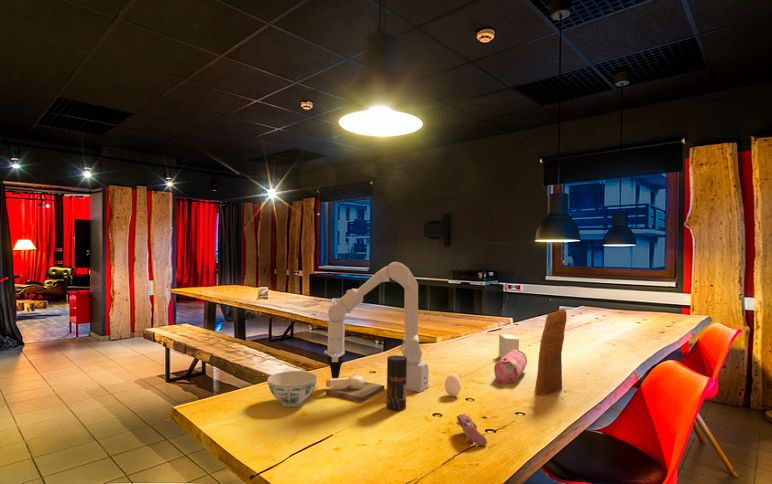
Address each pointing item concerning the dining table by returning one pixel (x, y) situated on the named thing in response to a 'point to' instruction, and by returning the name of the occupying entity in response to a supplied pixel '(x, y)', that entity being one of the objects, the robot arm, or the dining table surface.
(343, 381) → the white joystick lever
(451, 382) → the egg
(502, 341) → the skincare box
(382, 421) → the dining table surface
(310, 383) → the chinaware
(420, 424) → the dining table surface
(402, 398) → the deodorant
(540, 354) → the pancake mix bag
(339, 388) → the flat rectangular base
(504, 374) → the pencil case
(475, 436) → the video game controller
